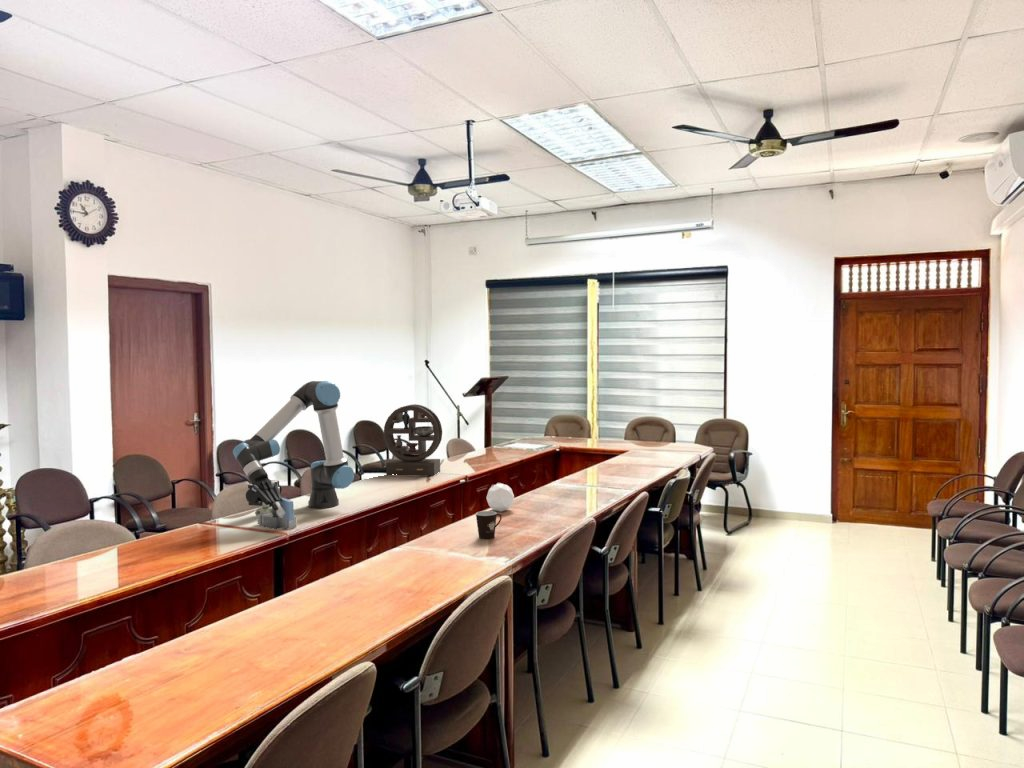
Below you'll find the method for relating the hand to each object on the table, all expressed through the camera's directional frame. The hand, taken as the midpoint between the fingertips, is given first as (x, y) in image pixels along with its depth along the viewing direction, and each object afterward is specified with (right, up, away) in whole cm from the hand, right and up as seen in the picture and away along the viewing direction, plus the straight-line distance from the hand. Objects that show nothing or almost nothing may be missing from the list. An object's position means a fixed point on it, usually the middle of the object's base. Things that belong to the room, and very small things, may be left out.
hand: (282, 515), depth 291 cm
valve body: (-7, -7, +13) cm, 16 cm away
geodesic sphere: (+93, -5, +37) cm, 100 cm away
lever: (-2, -2, +7) cm, 7 cm away
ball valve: (-20, -7, +34) cm, 39 cm away
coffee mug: (+90, -7, -12) cm, 91 cm away
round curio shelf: (+35, -2, +149) cm, 153 cm away
